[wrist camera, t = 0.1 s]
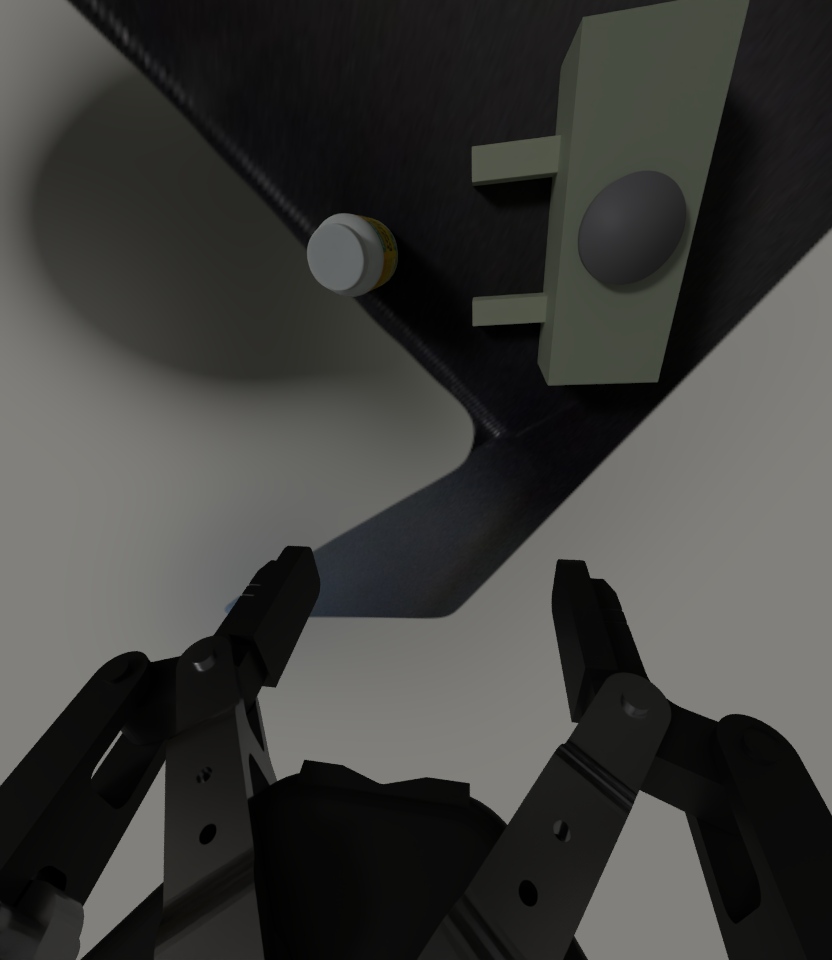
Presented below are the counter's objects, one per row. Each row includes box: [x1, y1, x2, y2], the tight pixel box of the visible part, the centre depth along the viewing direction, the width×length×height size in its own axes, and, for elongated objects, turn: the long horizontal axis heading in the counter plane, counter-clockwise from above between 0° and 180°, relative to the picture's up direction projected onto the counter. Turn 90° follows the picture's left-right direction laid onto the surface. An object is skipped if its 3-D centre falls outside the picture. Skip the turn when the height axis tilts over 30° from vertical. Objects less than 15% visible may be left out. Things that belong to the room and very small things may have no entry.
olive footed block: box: [472, 0, 749, 385], centre depth 28 cm, size 20×14×8 cm
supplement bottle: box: [307, 213, 398, 297], centre depth 30 cm, size 5×5×10 cm
